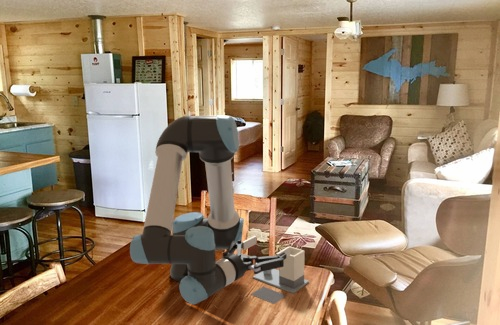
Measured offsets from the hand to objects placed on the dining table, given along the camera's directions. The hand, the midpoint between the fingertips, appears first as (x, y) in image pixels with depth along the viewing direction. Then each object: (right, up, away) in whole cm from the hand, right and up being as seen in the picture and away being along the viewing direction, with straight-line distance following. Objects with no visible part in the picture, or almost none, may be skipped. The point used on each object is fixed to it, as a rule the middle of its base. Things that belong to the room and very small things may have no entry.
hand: (272, 244), depth 135 cm
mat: (-1, -19, +6) cm, 20 cm away
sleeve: (+8, -16, +13) cm, 22 cm away
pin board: (+4, -17, +16) cm, 24 cm away
